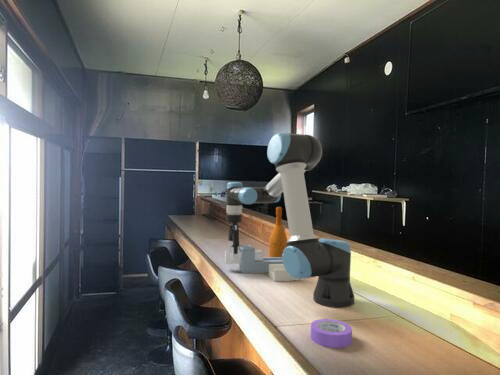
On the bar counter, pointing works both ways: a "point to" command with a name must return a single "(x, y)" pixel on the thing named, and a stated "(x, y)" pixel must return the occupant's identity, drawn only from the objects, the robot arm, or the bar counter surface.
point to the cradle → (279, 273)
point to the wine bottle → (277, 236)
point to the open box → (249, 261)
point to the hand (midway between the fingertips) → (233, 257)
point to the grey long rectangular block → (229, 257)
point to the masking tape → (331, 333)
